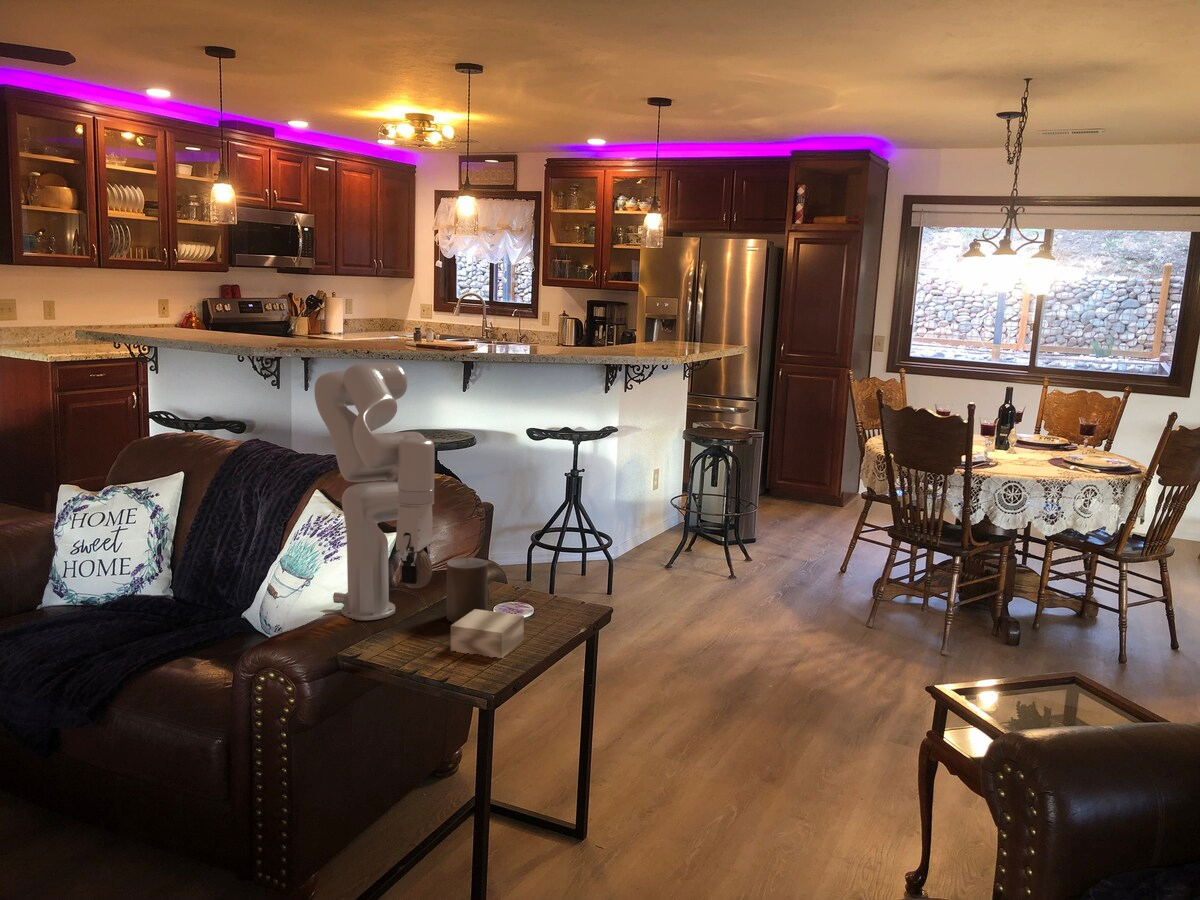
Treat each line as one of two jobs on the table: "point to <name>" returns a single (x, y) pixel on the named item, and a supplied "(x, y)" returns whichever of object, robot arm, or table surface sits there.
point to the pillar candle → (466, 587)
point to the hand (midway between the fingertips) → (415, 577)
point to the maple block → (487, 633)
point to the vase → (420, 569)
